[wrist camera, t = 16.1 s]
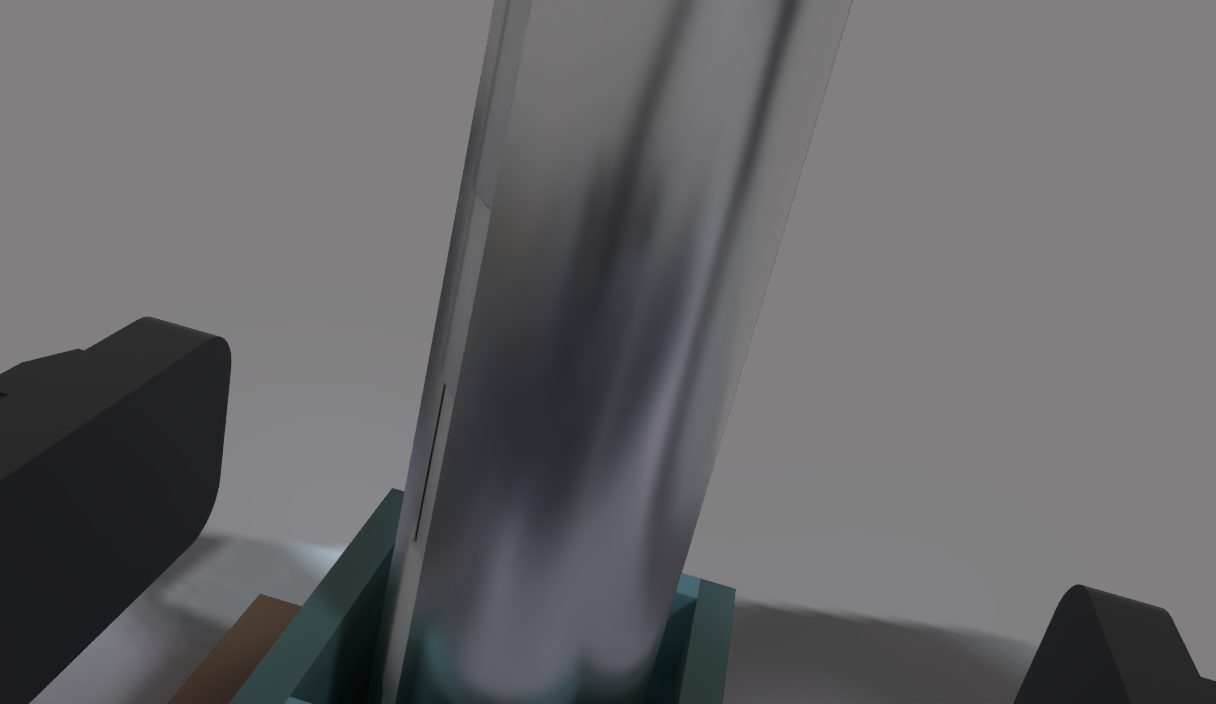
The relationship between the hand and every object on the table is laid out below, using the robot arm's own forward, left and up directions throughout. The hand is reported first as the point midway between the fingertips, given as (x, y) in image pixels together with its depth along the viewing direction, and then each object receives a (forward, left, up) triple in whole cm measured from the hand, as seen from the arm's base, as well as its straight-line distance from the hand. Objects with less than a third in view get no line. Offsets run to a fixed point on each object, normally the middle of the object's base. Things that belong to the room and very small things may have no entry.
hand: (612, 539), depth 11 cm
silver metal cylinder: (+2, -13, -17) cm, 22 cm away
